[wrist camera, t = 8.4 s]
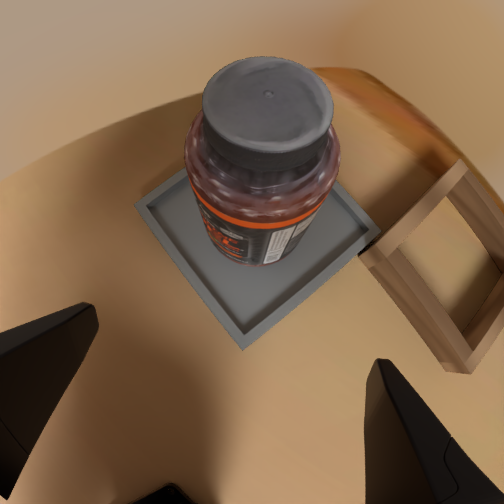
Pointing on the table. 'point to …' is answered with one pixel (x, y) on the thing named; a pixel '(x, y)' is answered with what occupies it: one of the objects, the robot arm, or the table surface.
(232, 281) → the slate tray
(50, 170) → the table surface
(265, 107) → the supplement bottle
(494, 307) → the walnut collar
